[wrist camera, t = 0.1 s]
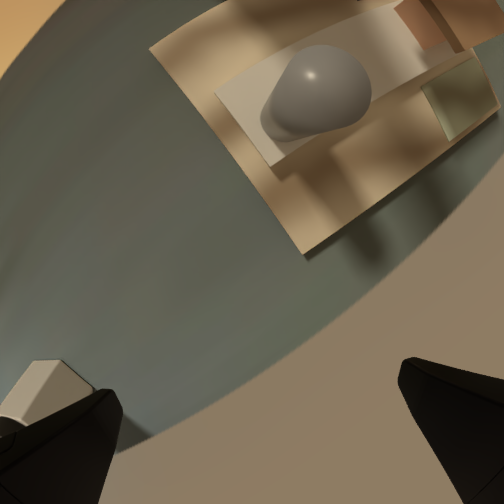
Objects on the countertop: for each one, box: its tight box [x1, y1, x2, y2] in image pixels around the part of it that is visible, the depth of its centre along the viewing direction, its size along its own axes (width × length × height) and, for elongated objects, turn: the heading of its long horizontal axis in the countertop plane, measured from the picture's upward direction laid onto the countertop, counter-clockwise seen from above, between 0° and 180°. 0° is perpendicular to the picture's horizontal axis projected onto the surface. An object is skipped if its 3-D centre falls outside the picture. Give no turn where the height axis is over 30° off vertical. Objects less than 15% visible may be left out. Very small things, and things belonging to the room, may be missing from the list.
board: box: [149, 0, 501, 255], centre depth 17 cm, size 18×25×1 cm
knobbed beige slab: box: [214, 0, 462, 167], centre depth 12 cm, size 6×20×10 cm, turn 125°
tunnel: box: [419, 0, 504, 54], centre depth 12 cm, size 6×8×7 cm
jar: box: [0, 360, 93, 438], centre depth 20 cm, size 9×8×12 cm
